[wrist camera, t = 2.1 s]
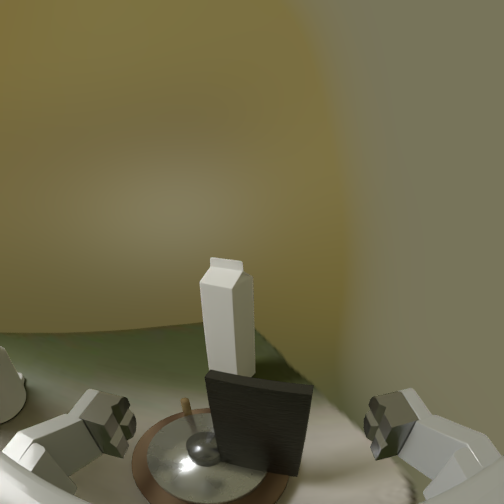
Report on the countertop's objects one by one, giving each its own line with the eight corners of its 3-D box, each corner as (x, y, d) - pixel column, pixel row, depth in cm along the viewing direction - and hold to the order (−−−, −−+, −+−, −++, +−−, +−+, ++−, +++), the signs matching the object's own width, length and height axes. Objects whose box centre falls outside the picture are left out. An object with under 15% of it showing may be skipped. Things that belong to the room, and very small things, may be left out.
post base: (118, 509, 16) (100, 492, 15) (155, 409, 36) (148, 387, 35) (296, 526, 16) (302, 514, 15) (282, 413, 36) (284, 391, 35)
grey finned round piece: (127, 475, 21) (76, 386, 17) (188, 401, 36) (172, 315, 33) (281, 527, 15) (295, 464, 12) (309, 425, 31) (322, 334, 28)
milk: (228, 364, 49) (221, 253, 45) (256, 373, 46) (253, 256, 42) (209, 380, 44) (197, 261, 40) (238, 391, 41) (231, 266, 37)
